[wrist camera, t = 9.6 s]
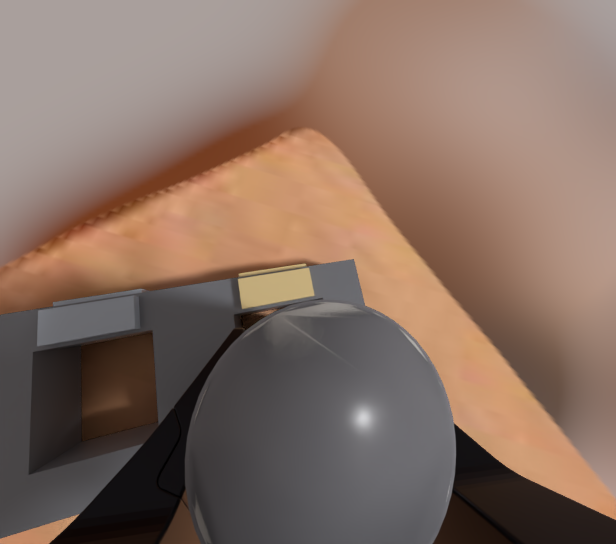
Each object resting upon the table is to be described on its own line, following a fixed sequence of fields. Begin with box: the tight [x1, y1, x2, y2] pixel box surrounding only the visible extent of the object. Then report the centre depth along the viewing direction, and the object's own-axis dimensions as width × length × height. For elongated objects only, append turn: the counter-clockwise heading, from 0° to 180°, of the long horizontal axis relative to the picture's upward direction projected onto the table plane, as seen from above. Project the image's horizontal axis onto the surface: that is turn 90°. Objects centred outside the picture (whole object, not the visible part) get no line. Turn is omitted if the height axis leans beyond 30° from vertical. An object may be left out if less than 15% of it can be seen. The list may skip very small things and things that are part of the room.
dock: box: [0, 259, 365, 538], centre depth 14 cm, size 21×10×4 cm, turn 101°
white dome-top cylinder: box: [185, 299, 456, 544], centre depth 9 cm, size 4×4×12 cm
